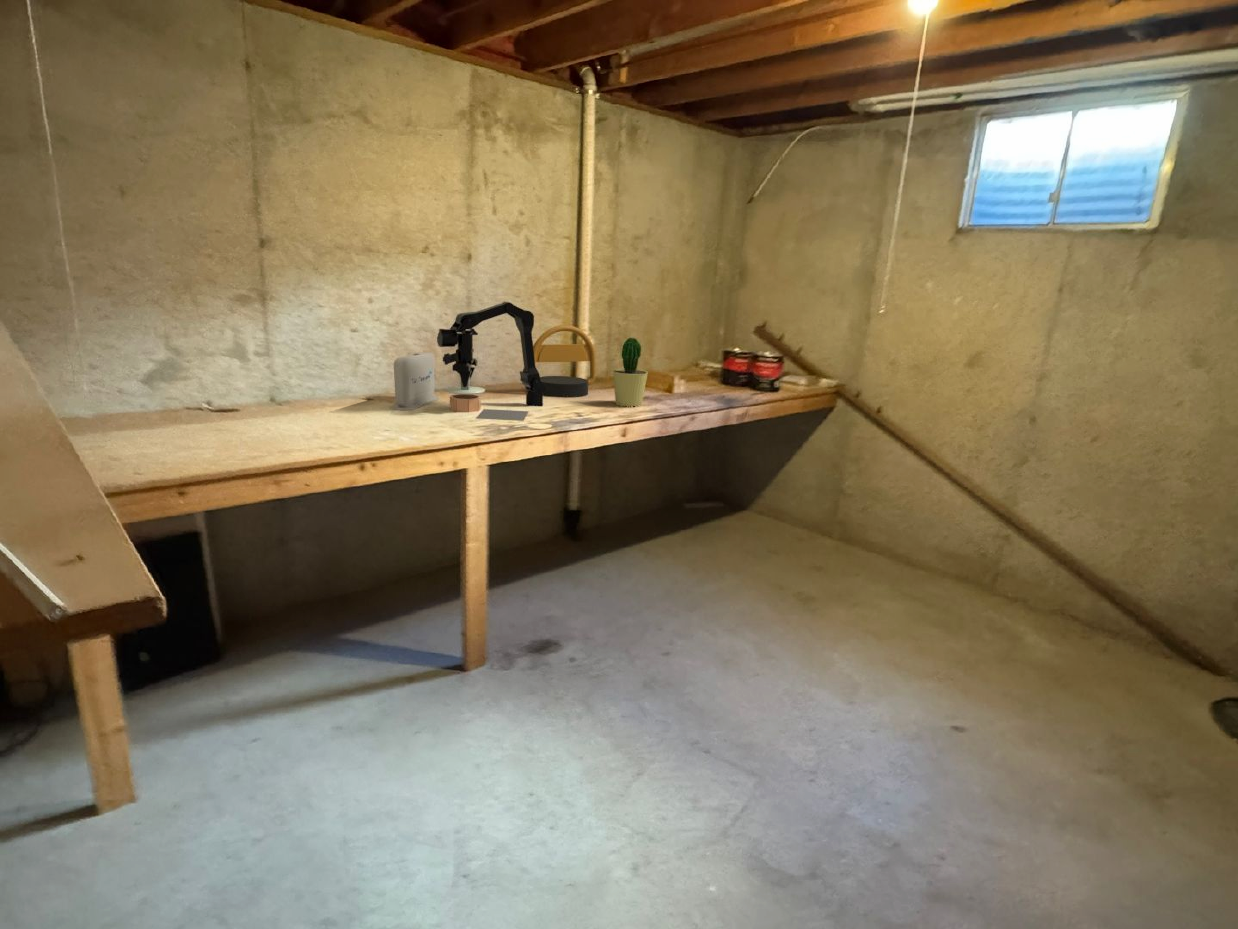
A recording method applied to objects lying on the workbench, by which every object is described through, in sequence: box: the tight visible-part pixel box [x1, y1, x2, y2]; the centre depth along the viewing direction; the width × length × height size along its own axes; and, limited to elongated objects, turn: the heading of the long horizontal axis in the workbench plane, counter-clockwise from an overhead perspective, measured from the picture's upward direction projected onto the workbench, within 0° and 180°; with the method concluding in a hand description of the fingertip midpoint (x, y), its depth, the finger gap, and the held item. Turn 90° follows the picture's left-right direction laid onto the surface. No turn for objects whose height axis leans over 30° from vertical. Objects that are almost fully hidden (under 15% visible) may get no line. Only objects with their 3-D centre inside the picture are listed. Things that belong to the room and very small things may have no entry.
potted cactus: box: [612, 337, 649, 407], centre depth 300 cm, size 15×15×30 cm
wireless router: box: [389, 351, 441, 411], centre depth 279 cm, size 31×10×20 cm, turn 168°
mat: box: [475, 408, 530, 422], centre depth 267 cm, size 18×18×1 cm
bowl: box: [449, 394, 482, 413], centre depth 273 cm, size 11×11×6 cm
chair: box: [533, 324, 597, 399], centre depth 320 cm, size 25×35×32 cm
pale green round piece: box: [445, 377, 486, 395], centre depth 270 cm, size 15×15×6 cm
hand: (465, 386), depth 271 cm, fingers closed on pale green round piece, 3 cm apart
